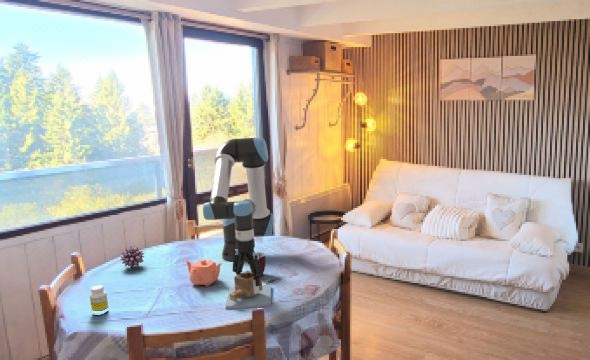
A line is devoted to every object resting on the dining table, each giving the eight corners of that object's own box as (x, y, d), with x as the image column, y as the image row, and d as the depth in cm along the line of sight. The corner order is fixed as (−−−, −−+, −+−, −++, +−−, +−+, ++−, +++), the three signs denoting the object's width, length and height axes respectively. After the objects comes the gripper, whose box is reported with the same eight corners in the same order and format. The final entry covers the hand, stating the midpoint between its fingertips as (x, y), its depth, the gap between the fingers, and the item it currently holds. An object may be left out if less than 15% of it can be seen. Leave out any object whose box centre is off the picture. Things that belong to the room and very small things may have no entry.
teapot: (225, 284, 205) (223, 261, 203) (193, 292, 199) (191, 268, 197) (215, 274, 218) (213, 252, 216) (186, 280, 211) (183, 258, 209)
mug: (269, 278, 209) (268, 258, 207) (252, 281, 206) (251, 261, 204) (264, 271, 218) (263, 251, 217) (248, 273, 216) (246, 253, 214)
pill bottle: (95, 310, 186) (91, 284, 184) (110, 308, 186) (107, 283, 184) (90, 317, 180) (86, 291, 178) (105, 315, 180) (102, 289, 178)
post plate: (230, 290, 198) (229, 278, 197) (271, 287, 199) (270, 275, 198) (225, 308, 180) (224, 296, 180) (270, 306, 181) (269, 293, 180)
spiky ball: (145, 262, 239) (143, 240, 237) (145, 269, 228) (143, 247, 226) (122, 265, 236) (119, 243, 234) (121, 273, 225) (118, 250, 222)
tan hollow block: (248, 285, 195) (247, 270, 193) (262, 289, 190) (261, 274, 189) (224, 298, 184) (223, 281, 183) (239, 302, 179) (237, 286, 178)
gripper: (220, 237, 188) (225, 288, 193) (257, 245, 176) (261, 299, 180) (233, 232, 194) (237, 282, 198) (270, 239, 182) (273, 292, 186)
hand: (248, 290), depth 189 cm, fingers closed on tan hollow block, 8 cm apart
